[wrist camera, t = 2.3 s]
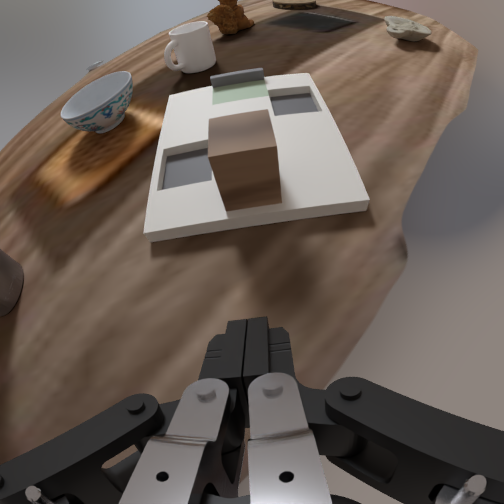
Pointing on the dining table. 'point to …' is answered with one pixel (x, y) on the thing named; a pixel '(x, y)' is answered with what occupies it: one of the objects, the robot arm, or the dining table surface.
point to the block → (244, 160)
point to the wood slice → (294, 4)
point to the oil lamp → (406, 29)
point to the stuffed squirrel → (229, 17)
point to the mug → (191, 48)
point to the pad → (239, 91)
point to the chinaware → (100, 103)
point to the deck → (289, 156)
